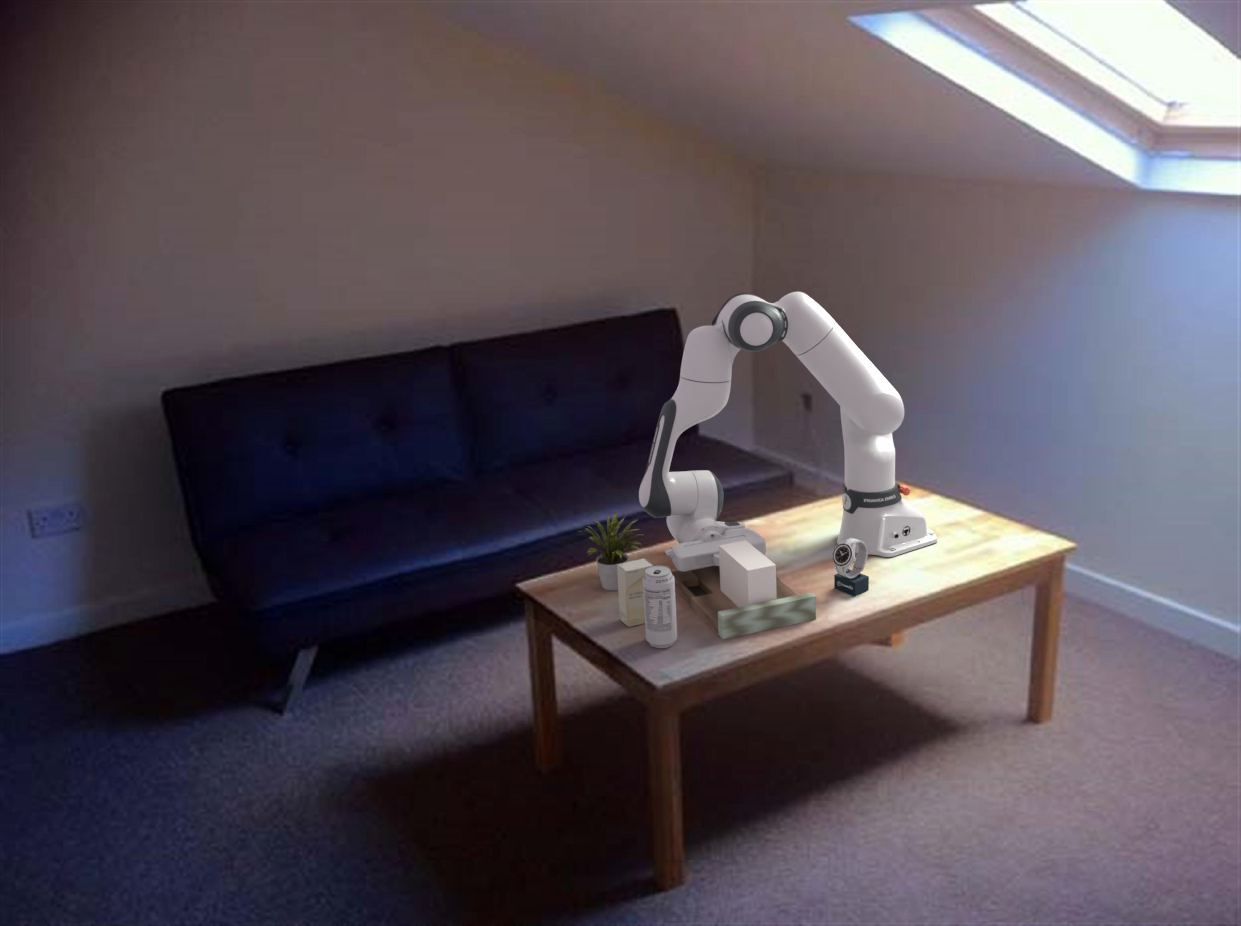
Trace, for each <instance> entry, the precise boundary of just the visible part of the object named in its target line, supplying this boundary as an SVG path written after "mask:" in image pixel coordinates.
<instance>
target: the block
mask: <svg viewBox="0 0 1241 926" xmlns="http://www.w3.org/2000/svg"><path fill="white" fill-rule="evenodd" d="M719 564H720V590H721V591H722V592H723V593H724V594H725V595H726V596H727V597H728V598H729V599H730V600H731V601H732V602H733V603H734V604H735V605H736V606H737V607H743V606H748V605H753V604H757V603H762V602H767V601H772V600H777V596H776V577H777V565H776V564H775V563H774V561H772V560H771V559H770V558H768V557H767V556H766V555H763V554H762V553H761V552H759V551H758V550H757V549H756V548H755V547H753V546H752V545H751V544H750V543H748V542H747V541H746V540H745V541H739V542H734V543H729V544H724V545H719Z"/></svg>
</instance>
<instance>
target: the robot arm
mask: <svg viewBox="0 0 1241 926" xmlns="http://www.w3.org/2000/svg"><path fill="white" fill-rule="evenodd" d="M712 319H713V320H712V321H711V325H701V326H698V327H696V328H694V329H692V330H690V332H689V334H688V335H687V338H686V342H685V345H684V349H683V353H682V359H681V365H680V373H679V381H678V386H677V388H676V390H675V392H674V393H673V396H672V397H671V398H670V399H668V401H665V402H664V404H663V405H662V407H661V410H660V414H659V417H658V421H657V424H656V428H655V431H654V436H653V440H652V443H651V448H650V452H649V456H648V460H647V464H646V468H645V471H644V474H643V477H642V478H641V481H640V485H639V488H638V502H639V505H640V508H641V509H643V511H644V512H645V513H647V514H648V515H649V516H650V517H652V518H654V519H659V518H666V525H667V528H668V530H669V532H670V534H671V536H672V537H673V538H674V540H675V541H676V543H675V544H674V545H672V546H671V547H669V548H668V549H666V550H665V555H666V556H667V557H668V558H669V559H672V563H673V565H674V567H675V569H676V570H679V571H683V572H685V571H690V570H695V569H701V568H706V567H711V566H720V564H719V545H724V544H729V543H734V542H739V541H745V540H746V541H747V542H748V543H750V544H751V545H752V546H753V547H755V548H756V549H757V550H758V551H759V552H761V553H762V554H763V555H764V556H766V552H767V542H766V540H765V538H764V537H763V536H762V535H761V534H759V533H758V532H756V531H755V530H753V529H750V528H747V527H746V524H745V523H744V522H742V521H732V522H731V521H720V520H719V521H718V518H719V516H720V515H721V512H722V509H723V505H724V500H725V499H724V497H725V496H724V494H725V493H724V489H723V486H722V483H721V481H720V479H718V478H719V477H717V476H716V474H715V473H714V472H712V471H711V470H710V469H707V470H706V469H705V470H704V469H703V470H702V469H701V470H697V469H696V470H687V471H682V470H681V471H670V467H671V463H672V459H673V456H674V455H673V454H674V451H675V447H676V443H677V440H678V439H679V438H680V436H681V434H683V432H685V431H686V430H688V429H689V428H691V427H693V426H695V425H697V424H700V423H701V422H705V421H707V420H709V419H711V418H714V417H715V416H717V415H718V414H719V413H720V412H721V411H722V410H723V409H724V408H725V407H726V406H727V404H728V402H729V400H730V399H729V398H730V393H731V388H732V387H731V385H732V371H733V369H732V367H733V364H734V360H735V358H736V356H737V354H738V353H739V352H740V351H741V350H743V351H745V352H749V353H750V352H752V353H755V352H761V351H763V350H766V349H768V348H769V347H771V346H773V345H775V344H778V343H780V342H783V343H784V344H785V345H786V346H787V347H788V348H789V350H790V351H791V352H792V353H793V354H794V355H795V357H797V358H798V360H799V361H800V362H801V364H803V365H804V366H805V367H806V368H807V370H808V371H809V373H811V374H812V375H813V376H814V378H815V379H816V380H817V381H818V382H819V383H820V385H821V386H822V387H823V388H824V389H825V390H826V392H827V393H828V394H829V395H830V396H831V398H832V399H833V400H835V402H836V403H837V404H838V405H839V407H840V408H839V410H840V423H841V431H842V441H843V448H844V449H843V451H844V481H843V483H842V495H841V497H842V500H841V501H842V502H841V503H842V509H843V511H842V518H841V524H840V529H839V533H838V535H837V536H838V537H837V539H836V543H837V545H839V544H841V543H842V542H843V541H845V540H847V539H849V538H854V539H857V540H860V541H863V542H864V543H865V544H866V546H867V554H868V555H873V556H879V557H884V558H894V557H896V556H898V555H901V554H905V553H908V552H911V551H914V550H917V549H922V548H923V547H926V546H929V545H933V544H935V543H937V542H938V536H937V534H936V532H935V531H933V530H932V529H931V528H929V527H928V526H927V520H926V516H925V514H924V513H923V512H922V511H921V510H920V509H919V508H917V507H916V506H915V505H914V504H912V503H911V502H909V501H908V500H906V499H904V498H903V497H902V494H903V495H904V496H907V497H908V496H909V495H910V494H911V493H912V492H911V491H912V489H911V488H910V486H907V485H905V484H902V485H901V484H900V483H898V482H897V481H896V447H895V443H894V438H893V433H894V432H895V431H897V430H898V429H899V428H900V426H901V425H902V423H903V421H904V418H905V406H904V402H903V399H902V397H901V395H900V393H899V391H897V390H896V388H895V387H894V386H893V385H892V384H891V382H889V380H888V379H887V378H886V377H885V376H884V375H883V373H882V372H881V371H880V370H879V369H878V368H877V367H876V366H875V365H874V364H873V362H872V361H871V360H870V359H869V358H868V357H867V355H865V354H864V351H862V350H861V349H860V348H859V347H858V345H856V344H855V342H854V341H853V340H852V338H850V336H849V335H848V334H847V333H846V332H845V330H844V329H843V328H842V327H841V326H840V325H839V324H838V323H837V322H836V320H835V319H834V317H832V315H830V314H829V313H828V312H827V311H826V310H825V308H823V307H822V306H821V305H820V304H819V303H818V302H817V301H815V300H814V299H813V298H812V297H810V295H808V294H807V293H805V292H802V291H792V292H790V293H787V294H786V295H784V296H782V297H781V298H780V299H779V300H778V301H775V302H773V303H772V302H768V301H766V300H765V299H763V298H761V297H759V296H757V295H756V294H753V293H749V292H741V293H736V294H734V295H731V296H730V297H729V298H728V299H726V300H725V302H724V303H723V304H722V306H721V307H720V309H719V311H718V312H717V314H716V315H715V317H713V318H712ZM855 545H856V548H855V554H857V552H859V546H858V543H856V544H855Z"/></svg>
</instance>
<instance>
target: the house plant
mask: <svg viewBox="0 0 1241 926" xmlns="http://www.w3.org/2000/svg"><path fill="white" fill-rule="evenodd" d="M618 516H619V515H618V511H617V512H615V514H614V515H613V516H612V519H611V518H610V513H607V522H606V523H607V525H606V529H607V532H606V530H605V527H604V526H603V525H602V523H600V521H598V520H597V519H595V518H594V522H595V523H594V525H596V526H597V527H598V530H599V532H600V533H601V536H602V539H601V537H600V535H599V533H598V532H596V530H594V529H593V527H591V526H590V525H591V524H593V523H590V525H589V526H587V527H588V528H589V529H588V528H587V527H584V529H585V531H587V532H588V533H590V534H591V535H592V536H589V537H588V539H589V540H591V542H594V543H595V544H597V545H598V546H599V547H600V549H601V550H599V549H598V548H596V547H589V548H588V549H587V552H586V554H588V553H589V554H588V555H587V556H590V555H593V554H596V553H599V554H600V555H598V556H597V557H596V559H595V560H596V561H595V563H596V565H597V566H596V567H597V571H598V574H599V578H600V582H601V586H602V588H603V589H604V590H607V591H618V574H617V564H621V563H625V562H629V561H630V560H629V559H630V558H629V556H628V554H626V553H625V552H626V551H627V550H629V549H630V550H631V549H633V550H634V549H638V550H640V548H639V547H638V546H637V545H640V546H642V544H641V542H639V541H637V540H631V541H628V540H630V539H631V538H634V537H639V536H640V537H641V536H643V534H640V533H637V534H635V533H634V532H633V531H639V530H641V529H640V528H635V529H634V528H633V529H630V528H631V526H632V525H634V523H636V522H637V521H639V519H634V520H632V521H631V522H630V523H629V524H627V525H626V527H625V528H623V530H622V531H621V532H620V533H618V530H619V528H620V527H621V525H622V523H623V522H624V520H625V518H626V516H627V515H625V516H624V517H623V518H622V519H621V520H620V521H618ZM629 529H630V530H629ZM579 532H581V530H579V531H578V533H579ZM617 533H618V534H617ZM602 540H603V541H602ZM630 544H631V545H630ZM627 545H628V546H627ZM623 551H624V552H623Z"/></svg>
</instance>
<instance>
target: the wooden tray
mask: <svg viewBox="0 0 1241 926" xmlns="http://www.w3.org/2000/svg"><path fill="white" fill-rule="evenodd" d="M671 573H672V575H673V576H674V579H675V592H677V593H678V594H679V595H680V596H681V597H682V599H683V600H685V602H687V604H688V605H689V606H690V607H691V608H692V609H693V610H694V611H695V610H696V611H695V612H696V613H697V614H698V615H699V616H700V617H701V618H702V619H703V621H704V622H706V624H707V623H708V624H707V625H708V626H710V628H711V629H712V630H713V631H714V632H715V633H716V634H717V636H719V637H720V638H721V639H722V640H728V639H731V638H735V637H739V636H745V635H751V634H755V633H759V632H764V631H768V630H773V629H778V628H781V627H783V628H784V627H786V626H790V625H796V624H801V623H805V622H809V621H815V620H817V596H816V595H815V594H814V593H812V592H806V593H802V594H801V593H800V594H797V593H796V592H795V591H794V590H792V589H791V588H790V587H789V586H788V585H786V583H784V582H783V581H782V580H780V579H779V578H778V577H777V576H776V596H777V600H772V601H767V602H762V603H757V604H753V605H748V606H743V607H737V606H736V605H735V604H734V603H733V602H732V601H731V600H730V599H729V598H728V597H727V596H726V595H725V594H724V593H723V592H722V591H721V590H720V566H711V567H706V568H701V569H695V570H690V571H685V572H683V571H679V570H678V569H676V570H671Z"/></svg>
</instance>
